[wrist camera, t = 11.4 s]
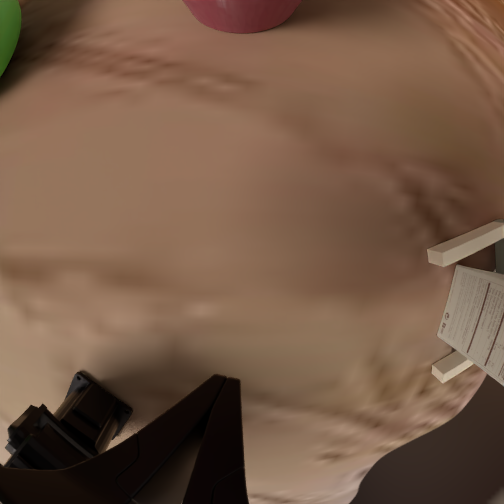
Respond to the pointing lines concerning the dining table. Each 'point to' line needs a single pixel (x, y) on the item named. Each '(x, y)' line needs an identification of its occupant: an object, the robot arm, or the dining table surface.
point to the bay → (454, 251)
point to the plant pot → (242, 13)
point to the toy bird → (8, 30)
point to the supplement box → (476, 319)
